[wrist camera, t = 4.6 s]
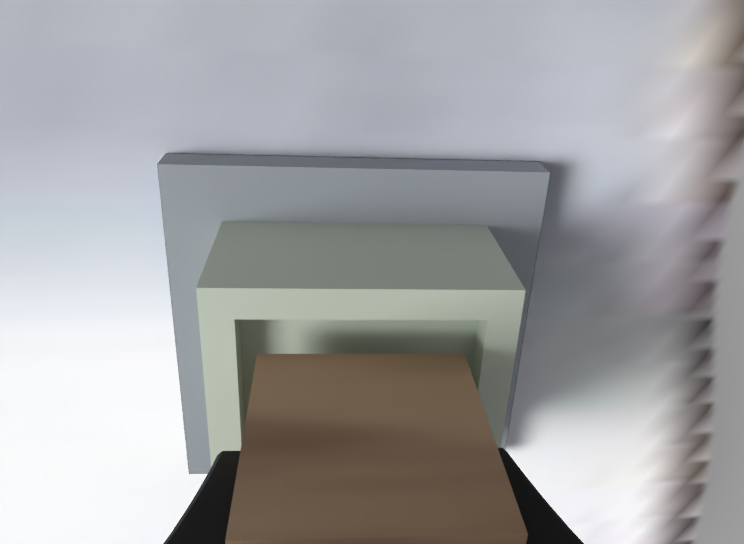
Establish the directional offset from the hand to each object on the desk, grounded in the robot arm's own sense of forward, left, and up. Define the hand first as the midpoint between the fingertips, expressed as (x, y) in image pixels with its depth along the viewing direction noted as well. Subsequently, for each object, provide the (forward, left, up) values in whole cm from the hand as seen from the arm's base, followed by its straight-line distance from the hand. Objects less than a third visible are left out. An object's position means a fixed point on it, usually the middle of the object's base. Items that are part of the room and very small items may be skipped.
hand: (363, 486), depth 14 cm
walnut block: (0, 0, -2) cm, 2 cm away
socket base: (0, 0, -7) cm, 7 cm away
